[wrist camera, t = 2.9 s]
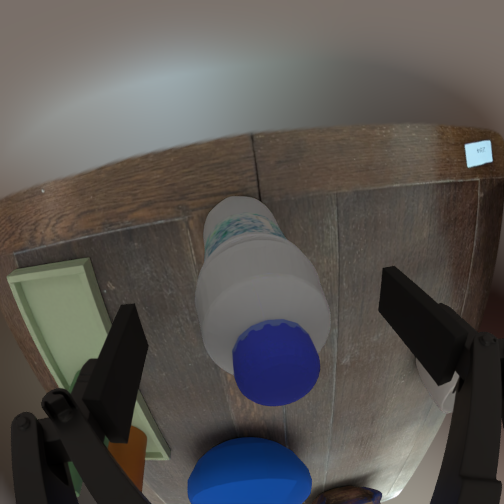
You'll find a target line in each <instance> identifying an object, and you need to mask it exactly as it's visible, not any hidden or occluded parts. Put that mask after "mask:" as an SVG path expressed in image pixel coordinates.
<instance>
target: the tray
mask: <svg viewBox="0 0 504 504" xmlns="http://www.w3.org/2000/svg"><path fill="white" fill-rule="evenodd" d="M7 280H8V283H9V285H10V288H11V290H12V293H13V295H14V298H15V300H16V303H17V305H18V307H19V310H20V312H21V314H22V317H23V319H24V321H25V323H26V325H27V328H28V330H29V332H30V334H31V336H32V338H33V340H34V342H35V344H36V346H37V348H38V350H39V352H40V354H41V356H42V358H43V359H44V361H45V363H46V365H47V367H48V368H49V370H50V372H51V374H52V375H53V377H54V379H55V381H56V382H57V384H58V386H59V387H60V388H63V389H66V390H67V391H68V390H69V388H70V385H71V383H72V381H73V378H74V376H75V374H76V372H77V371H79V370H81V368H82V366H83V365H84V364H85V363H86V362H87V361H88V360H89V359H91V358H98V356H99V354H100V352H101V349H102V347H103V344H104V342H105V340H106V337H107V335H108V333H109V331H110V328H111V326H112V324H111V321H110V318H109V316H108V313H107V310H106V307H105V304H104V301H103V298H102V296H101V293H100V289H99V286H98V283H97V280H96V277H95V274H94V270H93V267H92V264H91V260H90V257H88V258H82V259H75V260H69V261H63V262H57V263H50V264H44V265H38V266H32V267H26V268H20V269H15V270H14V271H13V272H11V273H10V274H9V275H8V276H7ZM131 425H132V426H134V427H136V428H138V429H140V430H141V431H143V432H144V433H145V435H146V436H147V447H146V456H145V460H170V454H171V450H170V448H169V447H168V445H167V443H166V441H165V439H164V438H163V436H162V434H161V432H160V430H159V428H158V427H157V425H156V423H155V421H154V419H153V417H152V415H151V413H150V411H149V409H148V407H147V405H146V403H145V401H144V399H143V397H142V395H141V393H140V390H139V389H138V394H137V398H136V403H135V408H134V413H133V418H132V423H131Z"/></svg>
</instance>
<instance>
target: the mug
mask: <svg viewBox="0 0 504 504" xmlns="http://www.w3.org/2000/svg"><path fill="white" fill-rule="evenodd" d="M416 366H417V370H418V373H419V375H420V378H421V380H422V382H423V384H424V385H425V387H426V389H427V391H428V393H429V394H430V396H431V397H432V399H433V400H434V402H435V403H436V404H437V406H438V407H439V408H440V410H441V411H442V412H444V413H451V412H453V407H454V401H455V394H456V391H455V393H454V394H453V393H452V392H453V390H454V387H455V385H456V383H457V380H458V378H459V375H458V374H457V373H456V371H455V373H454V375H453V378H452V380H451V381H450V382H448V383H446V384H443V385H441V386H438V385H437V384H436V383H435V381H434V380H433V379H432V377H431V376H430V375H429V373H428V372H427V371H426V370H425V368H424V367H423V366H422V364H421V363H420V362H419V361H418V359H417V358H416Z"/></svg>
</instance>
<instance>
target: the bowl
mask: <svg viewBox="0 0 504 504" xmlns="http://www.w3.org/2000/svg"><path fill="white" fill-rule="evenodd" d="M381 498H382V493H381V492H380V491H378V490H375V489H372V488H367V487H354V486H346V487H340V488H335V489H332V490H329V491H326V492H324V493H322V494H320V495H319V496H318V497H317V498H316V499H315V500H314V501H313V502H312V504H380V500H381Z"/></svg>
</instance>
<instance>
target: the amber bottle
mask: <svg viewBox="0 0 504 504" xmlns="http://www.w3.org/2000/svg"><path fill="white" fill-rule="evenodd" d="M146 447H147V436H146V435H145V433H144V432H143V431H141V430H140V429H138V428H136V427H134V426H132V425H131V428H130V434H129V439H128V444H124V443H111V442H110V441H109V445H108V450H109V451H110V453H111V454H112V455H113V457H114V458H115V459H116V461H117V462H118V463H119V465H120V466H121V467H122V469H123V470H124V471H125V473H126V474H127V475H128V476H129V478H130V479H131V480H132V481H133V483H134V484H135V485H136V486H137V488H138V489H139V490H140V491H141V492H142V486H143V475H144V465H145V456H146Z"/></svg>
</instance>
